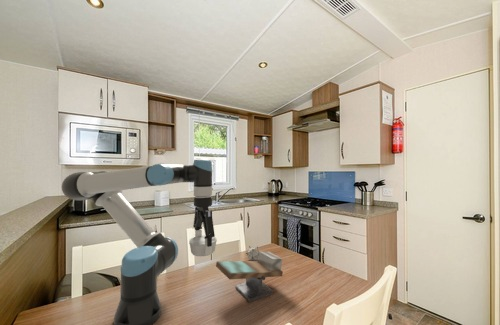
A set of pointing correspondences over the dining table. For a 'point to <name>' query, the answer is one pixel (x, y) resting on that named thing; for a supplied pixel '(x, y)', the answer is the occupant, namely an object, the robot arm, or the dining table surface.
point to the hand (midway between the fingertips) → (203, 249)
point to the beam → (252, 267)
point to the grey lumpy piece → (253, 253)
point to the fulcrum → (253, 289)
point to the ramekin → (200, 245)
